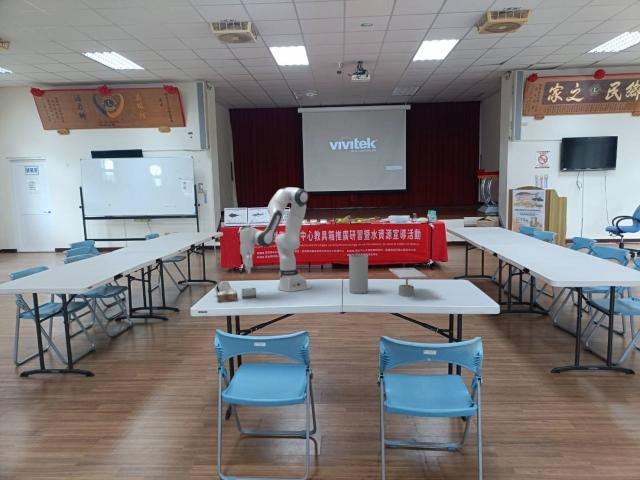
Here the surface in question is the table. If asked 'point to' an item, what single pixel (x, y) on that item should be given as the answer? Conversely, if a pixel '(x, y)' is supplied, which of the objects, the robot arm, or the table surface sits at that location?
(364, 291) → the cylinder vase
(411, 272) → the solar panel model
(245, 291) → the block
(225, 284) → the hinge
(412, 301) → the table surface
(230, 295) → the stand
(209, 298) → the table surface
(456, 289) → the table surface
